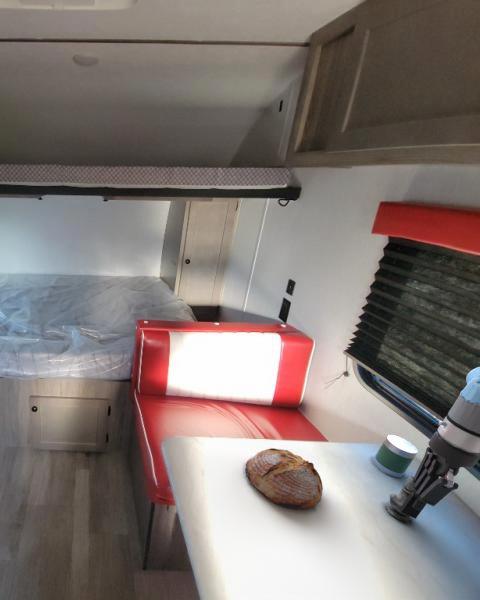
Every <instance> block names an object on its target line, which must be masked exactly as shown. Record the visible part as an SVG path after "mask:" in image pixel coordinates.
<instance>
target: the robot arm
mask: <svg viewBox="0 0 480 600" xmlns="http://www.w3.org/2000/svg"><path fill="white" fill-rule="evenodd" d="M438 425H439V426H438V428H437V431H435V432H434V433H433V435H432V436H431V438H430V439H429V440H428V446H427V447H426V449H425V452H424V456H423V458H422V460H421V461H420V464H419V466H418V468H417V470H416V472H415V474H414V476H413V477H414V478H413V480H412V481H413V483H415V484H414V485H413V489H414V490H412V492H411V493H410V495H409V496H408V498H407V499H406V501H405V502H404V503H403V505H402V506H401V508H400V509H401V512H402V513H404V514H406V515H408V516H409V517H410V518H411V519H414V520H416V519H417V518H418V516H419V515H420V514H421V512H422V511H423V510H424V508H425V507H426V506H427V505H429V506H432V507H435V506H436V505H437V504H439V502H441V501H442V500H443V499H445V497H446V496H448V494H450V493H451V492H452V491H454V490H457V489H459V483H457V482H455V481H454V477H456V476H457V475H458V474H459V473H460V469H461V468H474V466H475V465H476V464H477V463H478V461H479V460H480V366H478V367H475V368H473V369H472V370H470V371H469V372H468V373H467V375H466V385H465V387H464V388H463V389H462V390H461V391H460V393H459V395H458V397H457V398H456V400H455V401H454V403H453V405H452V406H451V407H450V409H449V411H448V413H447V414H446V416H445V417H444V419H443V420H439V421H438Z"/></svg>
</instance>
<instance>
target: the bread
mask: <svg viewBox="0 0 480 600" xmlns="http://www.w3.org/2000/svg"><path fill="white" fill-rule="evenodd" d="M244 470H245V474H246V475H245V476H246V477H248V479H249V481H250V483H251V485H252V486H254V487H255V489H257V490H258V491H259V492H260V493H261V494H262V495H264V496H265V497H266V498H268V500H270V501H272V502H273V503H274V504H276V505H278V506H280V507H284V508H288V509H293V510H307V509H312V508H313V507H315V506H317V504H318V503H320V502H321V500H322V496H323V490H324V488H323V486H324V485H323V481H322V478H321V475H320V474H319V472H318V470H317V469H316V468H315V464H314V463H313V462H309V460H305V459H303V458H302V456H300V455H297V454H294V453H293V452H292V451H289V450H288V449H282V448H273V447H270V448H266V449H264V450H261V451H259V452H257V453H256V454H255V455H254V456H252V457H250V458H249V459H248V460H247V461H246V462H245V468H244Z"/></svg>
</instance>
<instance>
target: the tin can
mask: <svg viewBox="0 0 480 600" xmlns="http://www.w3.org/2000/svg"><path fill="white" fill-rule="evenodd" d="M418 452H419V450H418V448H417V447H416V446H415V445H414V443H412V442H410V441H409V440H407V439H405V438H403V437H401V436H398V435H394V434H388V435H387V436H386V437H385V439H384V440H383V442H382V444H381V445H380V447H379V449H378V451H377V452H376V453H375V455H374V457H373V459H372V462H373V464H374V466H375V467H376V468H377V469H378V470H380V471H381V472H383V473H384V474H386V475H387V476H391V477H393V478H402V477H403V476H404V474H405V473H406V471H407V469H408V468H409V466H410V465H411V463H412V462H413V460H414V459H415V458H416V455H417V454H418Z"/></svg>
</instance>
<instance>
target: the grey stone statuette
mask: <svg viewBox="0 0 480 600" xmlns="http://www.w3.org/2000/svg"><path fill="white" fill-rule="evenodd" d="M413 478H414V476H408V478H407V479H406V481H405V483H404V484H403V485H402V484H401V487H400V488H401V490H400V491H399V493H398V494H396V493H390V494H389V505H388V504H387V505H385V510H386V511H387V512H388V514H390V515H392V516H393V517H394V518H396V519H397V520H399V521H402V522H404V523H407V524H412V523H413V518H412V517H410V516H408V515H406V514H404V513H402V512H401V509H400V508H401V506H402V505H403V503H404V502H405V501H406V499H407V498H408V496H409V495H410V493H411V492H412V490H414V489H413V485H414V484H415V483H413V481H412V480H413Z"/></svg>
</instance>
